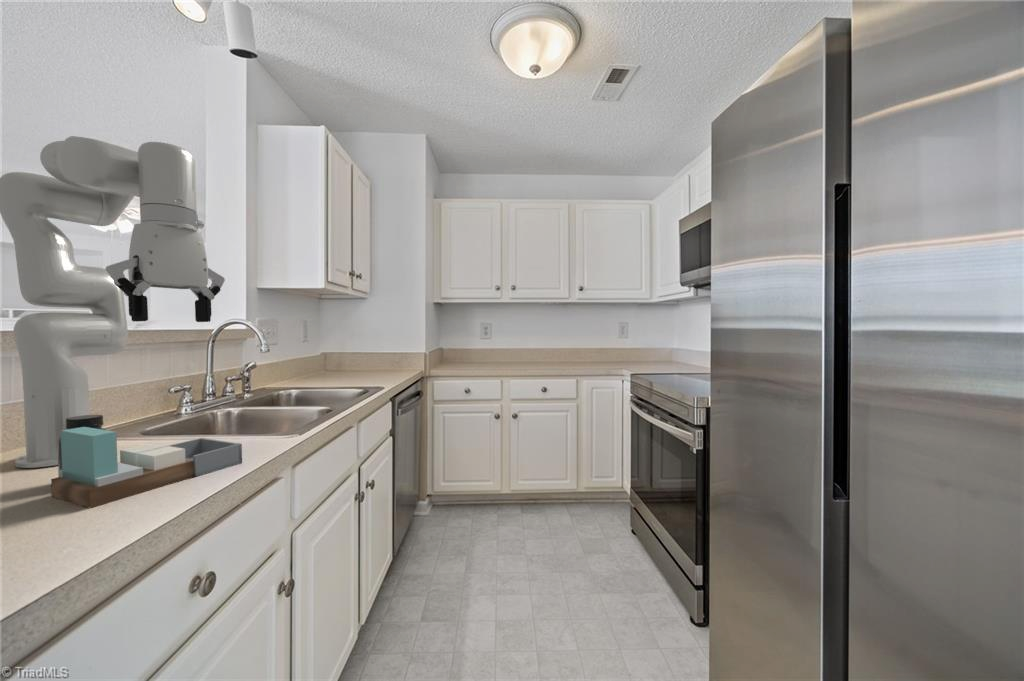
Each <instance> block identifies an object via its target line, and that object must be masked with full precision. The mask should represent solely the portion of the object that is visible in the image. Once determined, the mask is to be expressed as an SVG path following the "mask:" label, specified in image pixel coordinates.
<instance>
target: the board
mask: <svg viewBox="0 0 1024 681" xmlns="http://www.w3.org/2000/svg"><path fill="white" fill-rule="evenodd" d="M137 467H138V466H137ZM190 477H191V478H195V477H194V461H191V460H186V459H185V462H184V463H180V464H176V465H173V466H169V467H165V468H162V469H158V470H150V469H145V468H143V475H140V476H136V477H133V478H129V479H125V480H122V481H118V482H114V483H110V484H107V485H103V486H99V487H97V486H93V485H89V484H85V483H81V482H77V481H73V480H69V479H65V478H61V477H59V476H58V477H54V478H51V479H50V480H51V481H50V482H51V497H52V498H55V499H58V500H61V501H65V502H69V503H72V504H74V505H79V506H82V507H86V508H89V509H92V508H95V507H98V506H99V507H100V506H102V505H105V504H106V505H107V504H109V503H112V502H114V501H119V500H122V499H124V498H128V497H131V496H135V495H138V494H142V493H145V492H149V491H152V490H155V489H158V488H162V487H164V486H169V485H171V484H173V483H179V482H181V481H184V479H185V480H188V479H191V478H190ZM187 478H188V479H187Z"/></svg>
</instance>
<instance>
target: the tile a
mask: <svg viewBox="0 0 1024 681" xmlns="http://www.w3.org/2000/svg"><path fill="white" fill-rule="evenodd" d="M167 446H168V445H165V444H157V443H152V442H151V443H147V444H141V445H138V446H137V445H136V446H133V447H127V448H123V449H120V450H119V458H120V460H119V461H120V462H119V463H123V464H128V465H132V466H138V456H137V453H141V452H145V451H150V450H154V449H158V448H163V447H167Z"/></svg>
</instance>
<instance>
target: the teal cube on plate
mask: <svg viewBox="0 0 1024 681" xmlns="http://www.w3.org/2000/svg"><path fill="white" fill-rule="evenodd" d="M61 453H62V470H59V473H58V477H61V478H65V479H69V480H73V481H77V482H81V483H85V484H89V485H93V486H97V487H99V486H103V485H107V484H110V483H114V482H118V481H122V480H125V479H129V478H133V477H136V476H140V475H143V468H142V467H137V466H132V465H128V464H123V463H120V462H118V440H117V431H114V430H108V429H106V430H102V429H95V428H89V427H80V428H74V429H68V430H62V431H61Z"/></svg>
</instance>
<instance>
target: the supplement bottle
mask: <svg viewBox="0 0 1024 681" xmlns="http://www.w3.org/2000/svg"><path fill="white" fill-rule="evenodd" d="M102 426H104V416H103V415H102V414H89V415H83V416H75V417H70V418H67V419H66V426H65V428H66V429H74V428H80V427H89V428H95V429H102V430H107V429H106V428H104V427H102ZM57 466H58V467H57V468H58V469H57V470H58V471H57V472H58V474H59V470H62V453H61V436H60V438H59V439H58V465H57Z"/></svg>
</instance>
